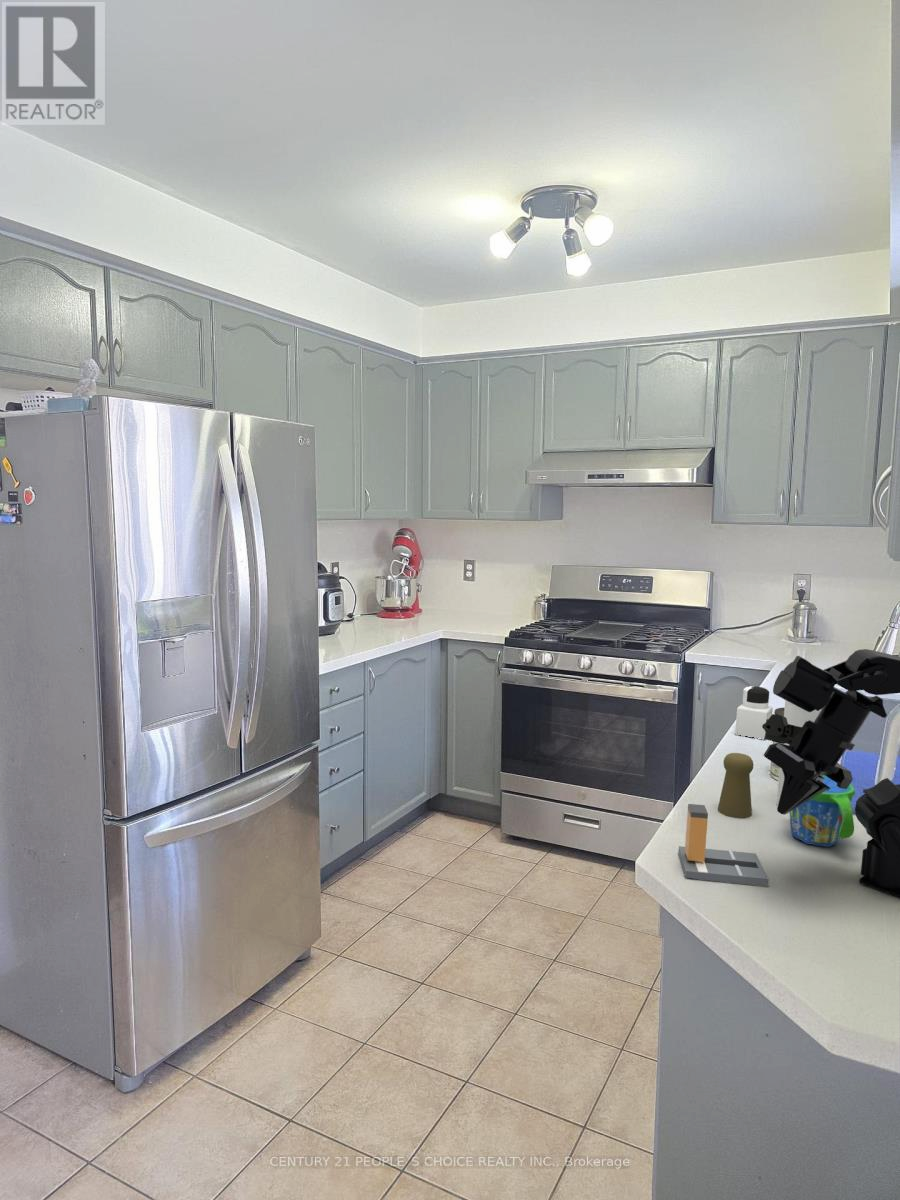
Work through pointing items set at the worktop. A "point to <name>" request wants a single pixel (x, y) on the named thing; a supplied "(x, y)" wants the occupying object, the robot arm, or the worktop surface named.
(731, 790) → the cork
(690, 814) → the fader tab
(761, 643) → the worktop surface
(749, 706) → the medicine bottle
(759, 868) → the fader console
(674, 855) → the worktop surface
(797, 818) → the snack cup
